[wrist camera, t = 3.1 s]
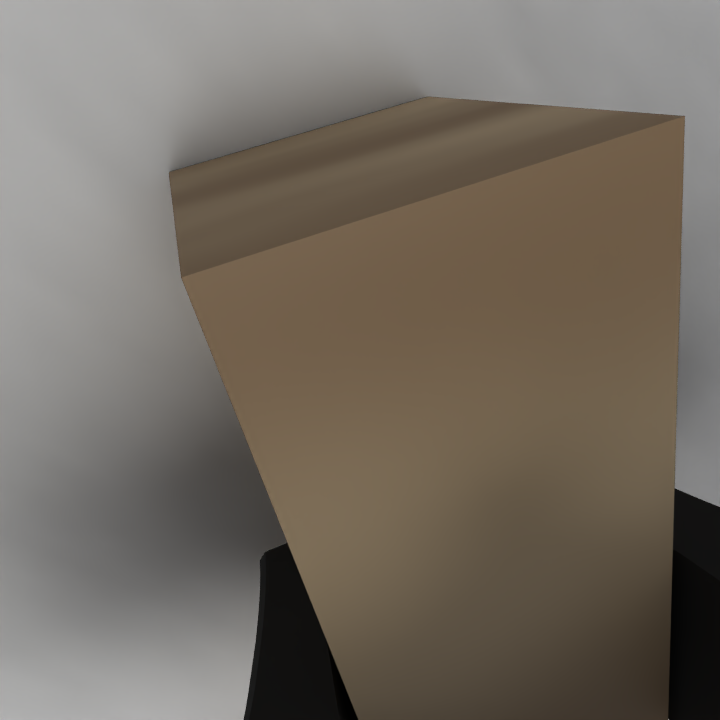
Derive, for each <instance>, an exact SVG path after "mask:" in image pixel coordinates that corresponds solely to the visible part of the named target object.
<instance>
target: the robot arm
mask: <svg viewBox="0 0 720 720" xmlns="http://www.w3.org/2000/svg"><path fill="white" fill-rule="evenodd" d="M668 719H669V720H720V507H718V506H716V505H713V504H711V503H708V502H706V501H703V500H701V499H698V498H696V497H693V496H691V495H689V494H686V493H684V492H682V491H679V490H677V489H675V488H674V522H673V558H672V594H671V630H670V666H669V702H668ZM244 720H358V717H357V715H356V712H355V710H354V708H353V705H352V703H351V700H350V698H349V695H348V693H347V690H346V688H345V685H344V683H343V680H342V678H341V675H340V673H339V670H338V668H337V665H336V663H335V660H334V658H333V655H332V653H331V650H330V648H329V645H328V643H327V640H326V638H325V635H324V633H323V630H322V628H321V625H320V623H319V620H318V618H317V615H316V613H315V610H314V608H313V605H312V603H311V600H310V598H309V595H308V593H307V590H306V588H305V585H304V583H303V580H302V578H301V575H300V573H299V570H298V568H297V565H296V563H295V560H294V558H293V555H292V553H291V550H290V548H289V545H288V543H287V544H284V545H282V546H279V547H277V548H274V549H272V550H269V551H267V552H265V553H264V555H263V556H262V558H261V560H260V601H259V615H258V625H257V635H256V644H255V651H254V658H253V665H252V672H251V679H250V686H249V693H248V699H247V705H246V711H245V716H244Z"/></svg>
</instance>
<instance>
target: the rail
mask: <svg viewBox="0 0 720 720" xmlns="http://www.w3.org/2000/svg"><path fill="white" fill-rule="evenodd" d="M684 126H685V116H677V115H663V114H650V113H637V112H624V111H610V110H597V109H584V108H571V107H558V106H544V105H531V104H518V103H505V102H491V101H478V100H465V99H452V98H438V97H425V98H422V99H418V100H415V101H411V102H408V103H404V104H401V105H398V106H394V107H391V108H387V109H384V110H380V111H377V112H374V113H370V114H367V115H363V116H360V117H356V118H353V119H350V120H346V121H343V122H339V123H336V124H333V125H329V126H326V127H322V128H319V129H315V130H312V131H309V132H305V133H302V134H298V135H295V136H291V137H288V138H285V139H281V140H278V141H274V142H271V143H267V144H264V145H261V146H257V147H254V148H250V149H247V150H243V151H240V152H237V153H233V154H230V155H226V156H223V157H219V158H216V159H213V160H209V161H206V162H202V163H199V164H195V165H192V166H189V167H185V168H182V169H178V170H175V171H172V172H169V178H170V186H171V195H172V203H173V212H174V220H175V229H176V237H177V246H178V254H179V263H180V271H181V278H182V281H183V283H184V286H185V288H186V291H187V293H188V296H189V298H190V301H191V303H192V306H193V308H194V311H195V313H196V316H197V318H198V321H199V323H200V326H201V328H202V331H203V333H204V336H205V338H206V341H207V343H208V346H209V348H210V351H211V353H212V356H213V358H214V361H215V363H216V366H217V368H218V371H219V373H220V376H221V378H222V381H223V383H224V386H225V388H226V391H227V393H228V396H229V398H230V401H231V403H232V406H233V408H234V411H235V413H236V415H237V418H238V420H239V423H240V425H241V428H242V430H243V433H244V435H245V438H246V440H247V443H248V445H249V448H250V450H251V453H252V455H253V458H254V460H255V463H256V465H257V468H258V470H259V473H260V475H261V478H262V480H263V483H264V485H265V488H266V490H267V493H268V495H269V498H270V500H271V503H272V505H273V508H274V510H275V513H276V515H277V518H278V520H279V523H280V525H281V528H282V530H283V533H284V535H285V538H286V540H287V543H288V545H289V548H290V550H291V553H292V555H293V558H294V560H295V563H296V565H297V568H298V570H299V573H300V575H301V578H302V580H303V583H304V585H305V588H306V590H307V593H308V595H309V598H310V600H311V603H312V605H313V608H314V610H315V613H316V615H317V618H318V620H319V623H320V625H321V628H322V630H323V633H324V635H325V638H326V640H327V643H328V645H329V648H330V650H331V653H332V655H333V658H334V660H335V663H336V665H337V668H338V670H339V673H340V675H341V678H342V680H343V683H344V685H345V688H346V690H347V693H348V695H349V698H350V700H351V703H352V705H353V708H354V710H355V712H356V715H357V717H358V720H668V702H669V666H670V630H671V594H672V558H673V522H674V486H675V450H676V414H677V378H678V342H679V306H680V270H681V234H682V198H683V162H684Z"/></svg>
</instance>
